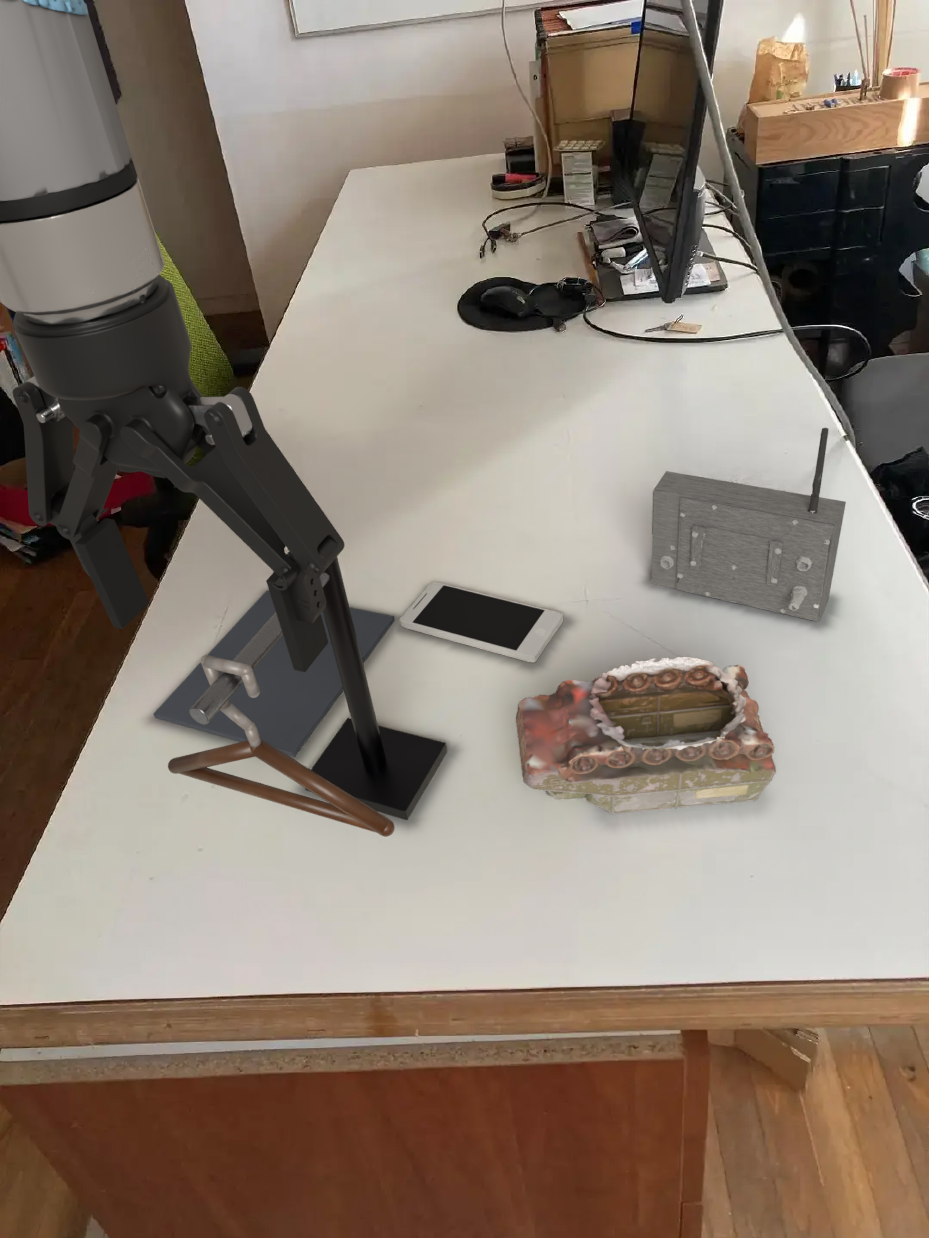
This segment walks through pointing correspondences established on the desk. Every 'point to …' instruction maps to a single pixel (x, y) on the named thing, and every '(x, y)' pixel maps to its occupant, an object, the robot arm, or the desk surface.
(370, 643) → the felt mat
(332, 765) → the rail stand
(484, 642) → the smartphone
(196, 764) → the hanger
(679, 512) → the electronic device
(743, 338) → the desk surface
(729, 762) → the decorative box
